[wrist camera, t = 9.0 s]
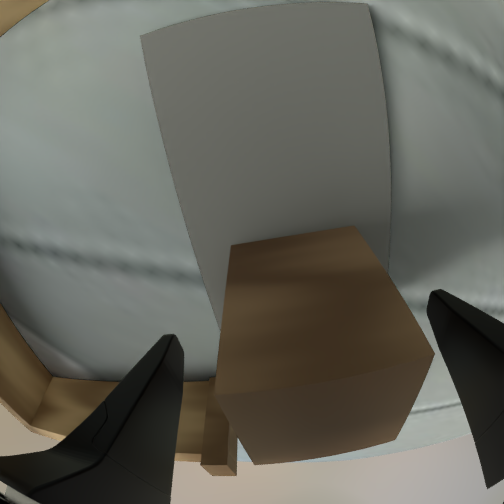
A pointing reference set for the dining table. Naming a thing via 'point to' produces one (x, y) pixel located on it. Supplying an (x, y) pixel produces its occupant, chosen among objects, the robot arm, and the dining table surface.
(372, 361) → the block
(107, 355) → the dining table surface
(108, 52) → the dining table surface
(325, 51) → the mat
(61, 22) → the dining table surface
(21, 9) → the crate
